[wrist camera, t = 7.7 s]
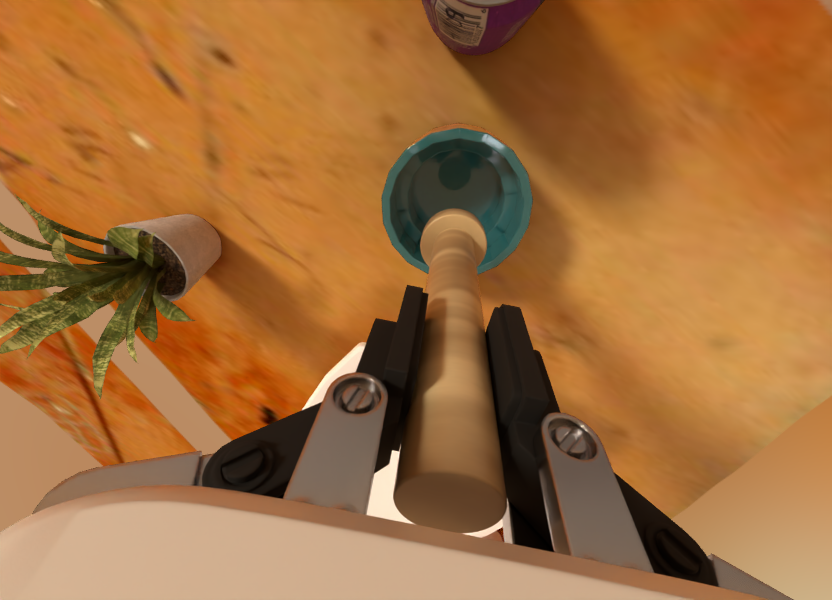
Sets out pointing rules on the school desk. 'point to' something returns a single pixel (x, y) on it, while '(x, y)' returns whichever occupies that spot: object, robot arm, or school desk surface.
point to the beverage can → (478, 22)
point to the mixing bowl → (457, 190)
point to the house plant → (109, 280)
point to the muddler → (452, 393)
